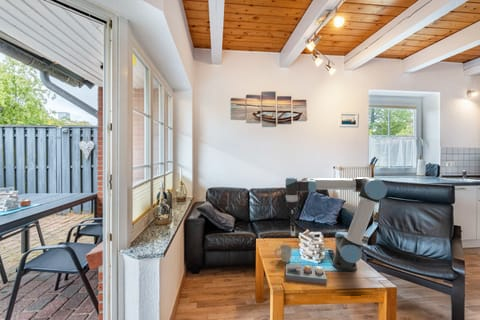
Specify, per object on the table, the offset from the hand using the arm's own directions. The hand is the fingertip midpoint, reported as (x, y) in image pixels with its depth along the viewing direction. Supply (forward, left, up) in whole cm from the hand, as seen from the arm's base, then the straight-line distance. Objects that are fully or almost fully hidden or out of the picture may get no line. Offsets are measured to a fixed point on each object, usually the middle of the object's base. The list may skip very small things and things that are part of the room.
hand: (293, 232), depth 152 cm
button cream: (-16, +6, -23) cm, 28 cm away
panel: (-7, +6, -26) cm, 27 cm away
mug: (+7, -13, -26) cm, 30 cm away
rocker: (-1, +6, -20) cm, 21 cm away
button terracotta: (-9, +6, -23) cm, 25 cm away
